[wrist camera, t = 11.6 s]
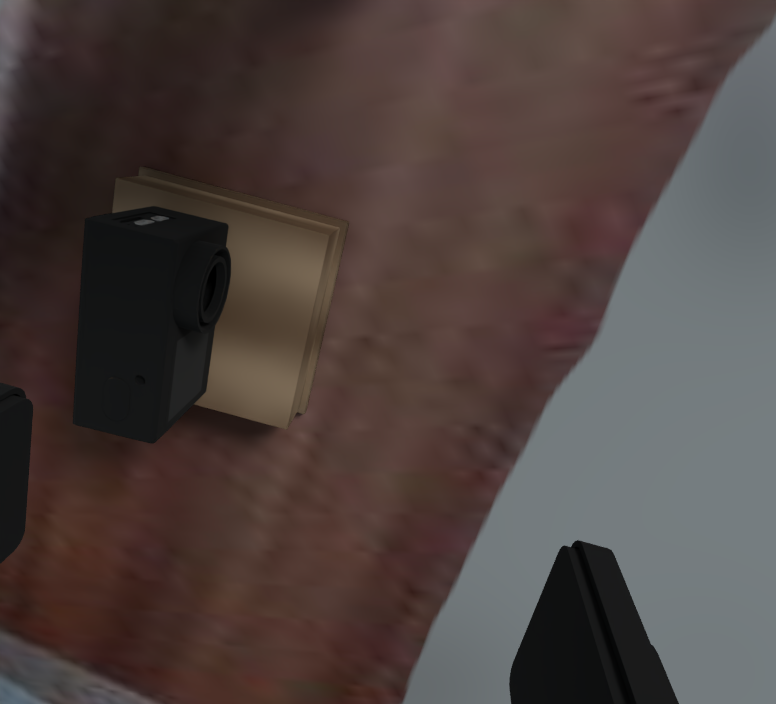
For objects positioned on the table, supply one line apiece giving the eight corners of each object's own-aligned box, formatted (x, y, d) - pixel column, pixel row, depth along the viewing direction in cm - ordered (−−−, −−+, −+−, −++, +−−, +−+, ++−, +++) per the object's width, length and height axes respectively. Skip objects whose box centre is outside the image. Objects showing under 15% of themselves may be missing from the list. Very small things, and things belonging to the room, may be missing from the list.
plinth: (143, 166, 37) (109, 168, 33) (349, 221, 37) (337, 230, 33) (121, 360, 41) (88, 381, 37) (306, 410, 41) (292, 437, 37)
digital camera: (225, 399, 37) (176, 453, 30) (138, 377, 37) (70, 427, 30) (251, 228, 34) (202, 246, 27) (154, 205, 34) (83, 218, 27)
